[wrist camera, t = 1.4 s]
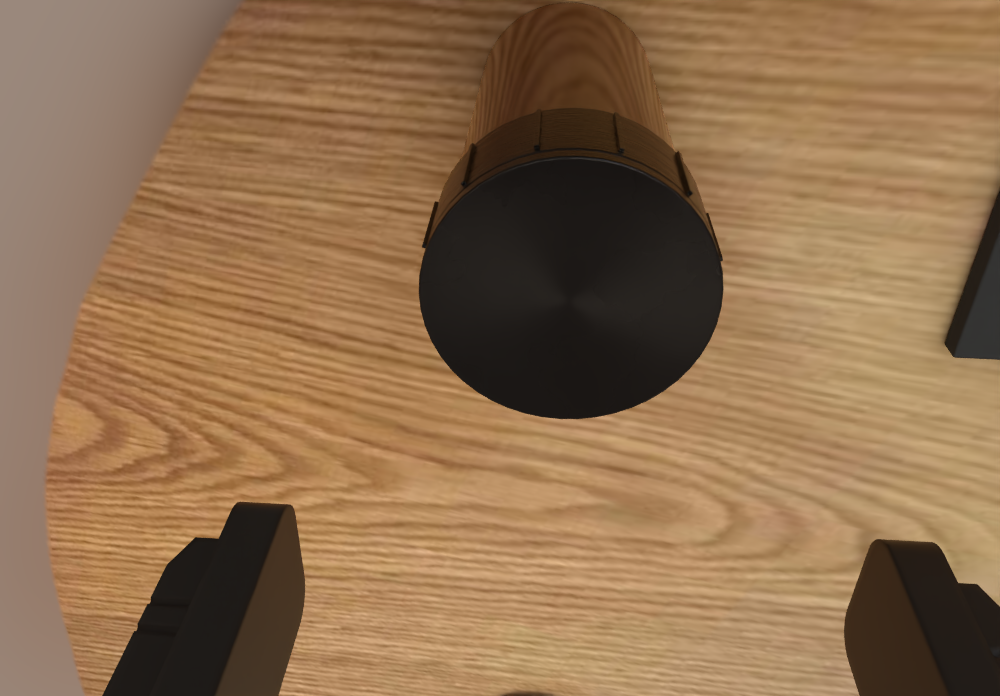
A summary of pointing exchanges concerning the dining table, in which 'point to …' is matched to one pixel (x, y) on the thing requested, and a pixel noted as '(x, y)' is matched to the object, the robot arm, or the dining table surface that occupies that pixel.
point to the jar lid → (570, 266)
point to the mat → (980, 301)
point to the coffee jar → (567, 70)
